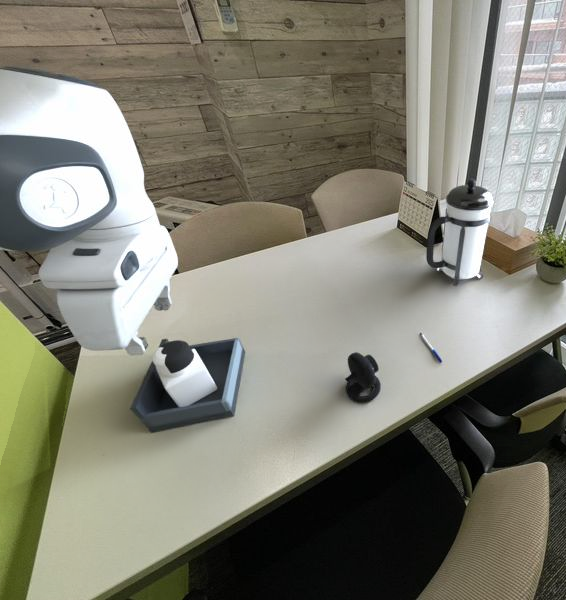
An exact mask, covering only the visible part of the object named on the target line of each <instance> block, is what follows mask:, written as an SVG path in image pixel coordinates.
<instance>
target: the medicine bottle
mask: <svg viewBox="0 0 566 600" xmlns="http://www.w3.org/2000/svg"><path fill="white" fill-rule="evenodd" d="M189 345H190V344H189V343H188V342H187V341H185V340H182V339H181V340H179V339H176V340H171V341H169V342H168V343H165V344H163V345H162V346H160V347H159V346H158V347H159V348H158V347H157V348H156V349H155V351H154V352H153V354H152V356H151V362H152V361H153V363H154V364H155V365H156V369H157V372H158V374H159V376H160V379H161V381H162V383H163V385H164V388H165V389H166V391H167V392H168V393H169V395H170V396H171V397H172V399H173V400H174V401H175V403H176V404H177V406H178V407H184V406H189V405H191V404H193V403H194V402H196V401H198V400H200V399H201V398H203V397H205V396H207V395H209V394H210V393H212V392H214V391H216V390H217V386H216V384H215V383H214V381H213V379H212V377H211V376H210V374H209V372H208V370H207V369H206V367H205V365H204V364H203V362H202V360H201V359H200V357H199V355H198V353H197V352H196V350H195V349H192V350H191V348H190V346H189Z"/></svg>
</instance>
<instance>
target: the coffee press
mask: <svg viewBox="0 0 566 600" xmlns="http://www.w3.org/2000/svg"><path fill="white" fill-rule="evenodd" d="M445 203H446V208H445V212H444V216H440V217H437V218H436V219H434V221H432V223H431V224H430V226H429V228H428V231H427V237H426V238H427V239H426V251H425V253H426V255H425V256H426V257H425V259H426V263H427V265H428V266H429V267H430V268H432V269H436V271H438V272H441V271H442V272H444V274H446V275H447V276H448V277H450V278H452V279H453V283H452V285H453V287H458V286H459V282H460V280H468V279H472V278H474V277H477V278H478V279H479V280H482V279H483V278H484V272H483V270H482V265H483V259H484V253H485V248H486V242H487V238H488V237H487V235H488V230H489V225H490V220H491V215H492V214H491V209H492V206H493V204H494V198H493V196H492V193H491V192H490V191H489V190H488V189H487V188H485V187H483V186H481V185H477V181H476V180H475V179H474V178H470V179H469V180H467V183H466V184H462V185H457V186H455V187H453V188H452V189H451V190H450V191H449V192H448V194H447V195H446V197H445ZM442 225H443V236H442V246H441V257H440V261H434V250H435V249H434V248H435V237H436V231H437V229H438V228H439V227H440V226H442ZM479 273H480V274H479Z"/></svg>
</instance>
